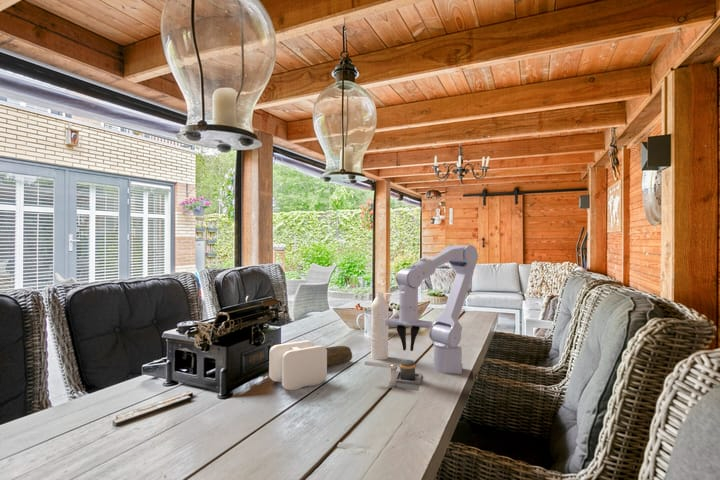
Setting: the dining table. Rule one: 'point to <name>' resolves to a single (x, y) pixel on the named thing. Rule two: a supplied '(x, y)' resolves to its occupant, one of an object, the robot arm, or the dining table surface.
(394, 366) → the brushed metal lever
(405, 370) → the plug
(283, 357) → the cable organizer
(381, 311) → the water bottle
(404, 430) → the dining table surface
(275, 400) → the dining table surface
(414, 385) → the socket
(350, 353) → the brown cylinder
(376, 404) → the dining table surface
